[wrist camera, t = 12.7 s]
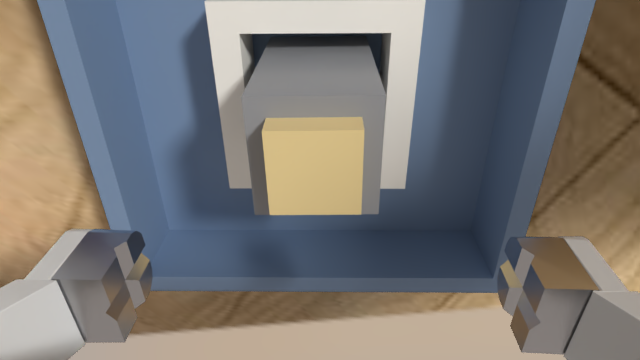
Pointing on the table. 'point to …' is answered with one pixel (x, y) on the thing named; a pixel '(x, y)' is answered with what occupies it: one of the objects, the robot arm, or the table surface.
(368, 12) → the walled tray
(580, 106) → the table surface
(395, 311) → the table surface
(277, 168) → the connector plug
